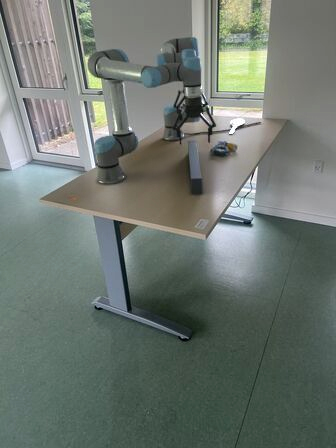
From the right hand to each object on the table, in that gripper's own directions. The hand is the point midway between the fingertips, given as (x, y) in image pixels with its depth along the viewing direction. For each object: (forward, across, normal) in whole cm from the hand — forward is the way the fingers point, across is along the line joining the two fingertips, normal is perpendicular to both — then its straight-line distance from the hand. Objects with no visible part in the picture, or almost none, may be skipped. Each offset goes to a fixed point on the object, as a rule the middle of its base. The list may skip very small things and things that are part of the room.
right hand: (191, 118), depth 199 cm
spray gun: (+24, +21, +6) cm, 32 cm away
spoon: (+24, +35, +58) cm, 72 cm away
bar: (+24, 0, -23) cm, 33 cm away
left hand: (0, 0, -46) cm, 46 cm away
